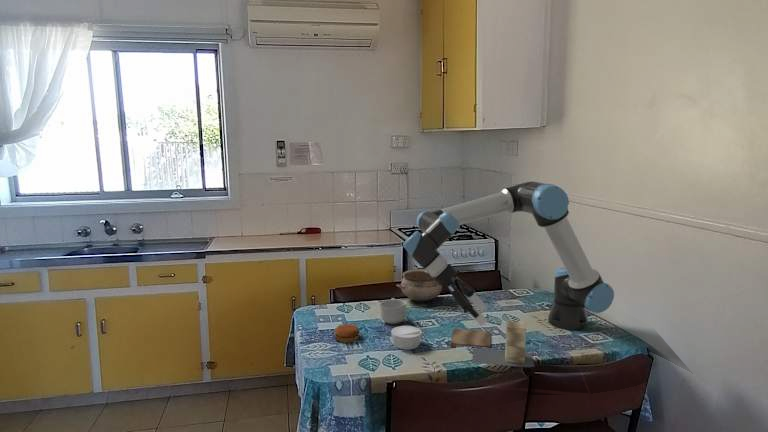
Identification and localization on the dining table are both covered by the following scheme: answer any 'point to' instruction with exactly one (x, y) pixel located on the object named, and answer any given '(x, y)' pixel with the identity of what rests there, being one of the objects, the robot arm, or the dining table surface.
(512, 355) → the maple block
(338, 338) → the burger
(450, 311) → the dining table surface
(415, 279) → the cooking pot
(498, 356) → the mat
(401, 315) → the teacup
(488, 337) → the walnut board
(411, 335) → the ramekin
